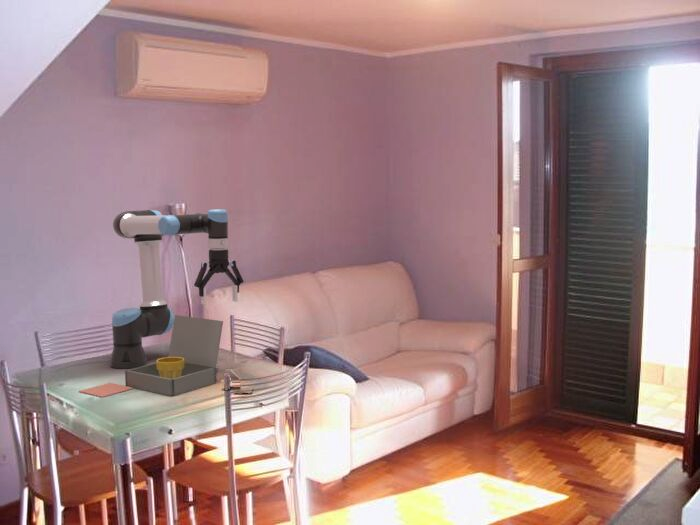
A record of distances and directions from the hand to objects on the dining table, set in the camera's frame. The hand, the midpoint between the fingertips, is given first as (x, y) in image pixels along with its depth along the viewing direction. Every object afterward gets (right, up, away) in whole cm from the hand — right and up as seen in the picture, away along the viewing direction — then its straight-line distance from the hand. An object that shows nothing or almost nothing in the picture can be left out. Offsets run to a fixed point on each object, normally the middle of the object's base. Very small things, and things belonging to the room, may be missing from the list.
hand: (219, 303), depth 307 cm
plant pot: (-17, -31, -9) cm, 36 cm away
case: (-16, -30, -7) cm, 35 cm away
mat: (-39, -32, -16) cm, 53 cm away
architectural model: (+8, -32, -16) cm, 36 cm away
